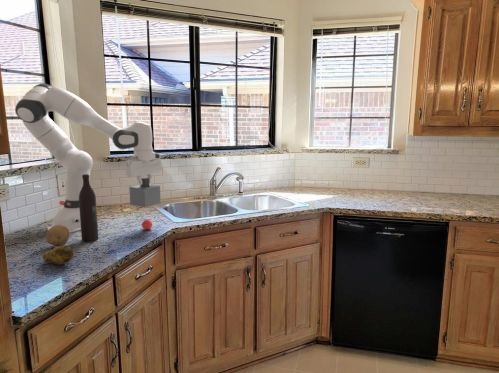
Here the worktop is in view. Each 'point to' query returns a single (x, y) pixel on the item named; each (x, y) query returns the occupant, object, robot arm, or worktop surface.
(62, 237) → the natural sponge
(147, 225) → the ball
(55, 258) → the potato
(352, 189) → the worktop surface
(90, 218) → the wine bottle
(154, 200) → the cover
